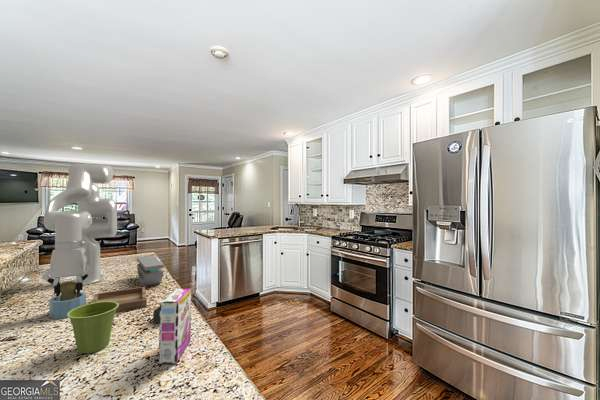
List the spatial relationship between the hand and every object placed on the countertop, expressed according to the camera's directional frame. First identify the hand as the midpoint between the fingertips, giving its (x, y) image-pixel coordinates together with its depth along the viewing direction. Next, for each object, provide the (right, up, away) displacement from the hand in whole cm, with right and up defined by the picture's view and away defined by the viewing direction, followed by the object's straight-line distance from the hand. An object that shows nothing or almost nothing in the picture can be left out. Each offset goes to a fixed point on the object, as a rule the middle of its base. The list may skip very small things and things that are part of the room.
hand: (68, 293), depth 99 cm
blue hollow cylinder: (0, -7, 0) cm, 7 cm away
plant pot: (+27, -8, -22) cm, 36 cm away
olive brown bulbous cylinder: (0, -7, 0) cm, 7 cm away
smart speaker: (+39, -8, -4) cm, 40 cm away
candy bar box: (+52, -8, -24) cm, 58 cm away
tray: (+14, -7, +8) cm, 18 cm away
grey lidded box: (+10, -7, +36) cm, 38 cm away
